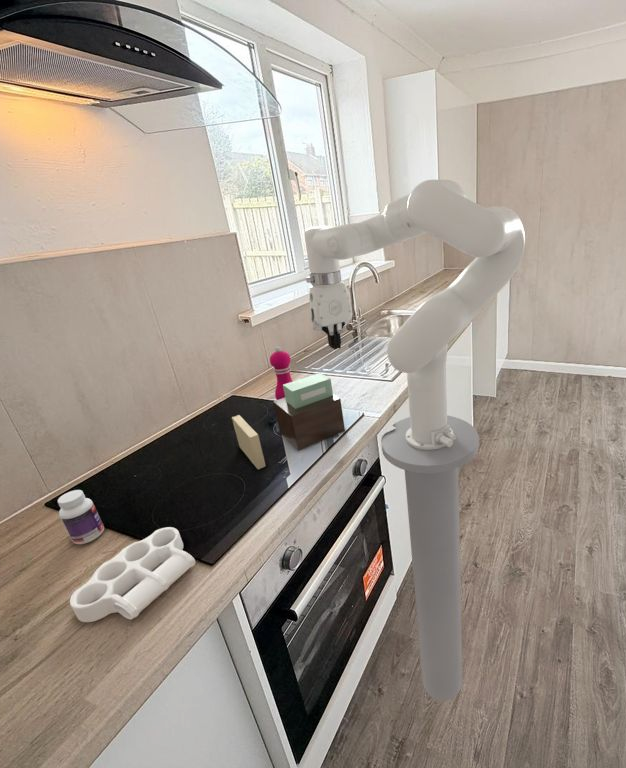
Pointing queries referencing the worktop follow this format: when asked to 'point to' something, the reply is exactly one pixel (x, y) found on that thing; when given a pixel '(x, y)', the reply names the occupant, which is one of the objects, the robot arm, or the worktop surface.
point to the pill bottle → (80, 517)
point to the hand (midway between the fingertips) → (335, 347)
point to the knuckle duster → (133, 577)
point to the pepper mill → (281, 370)
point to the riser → (309, 421)
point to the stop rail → (249, 441)
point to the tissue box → (308, 390)
